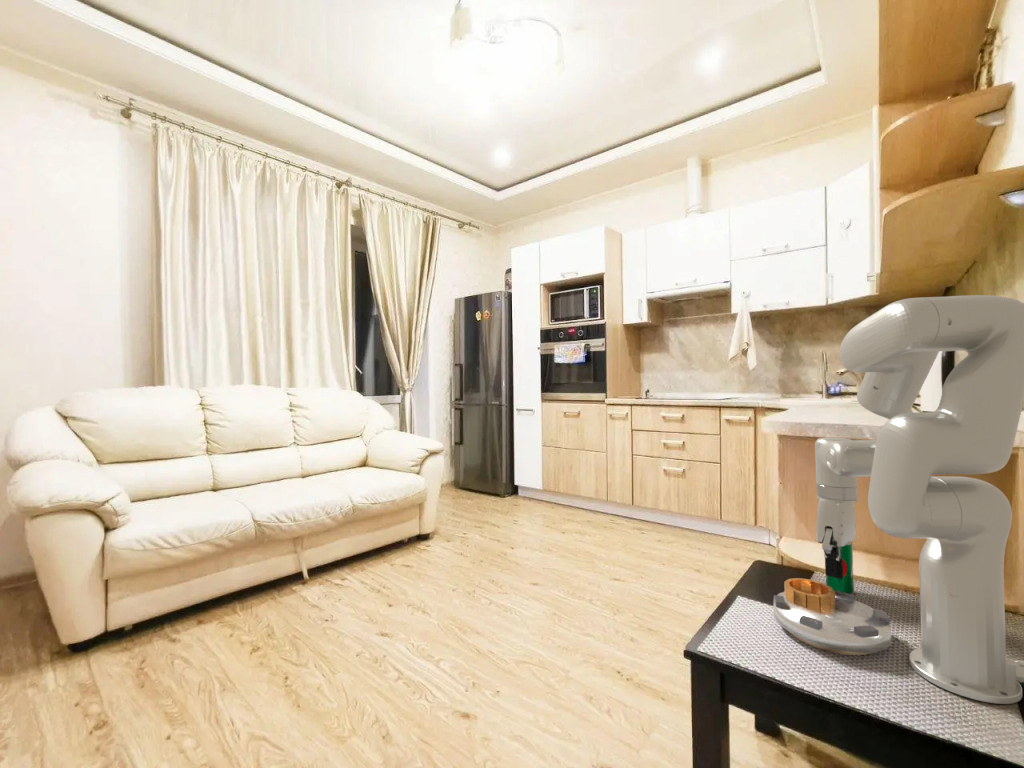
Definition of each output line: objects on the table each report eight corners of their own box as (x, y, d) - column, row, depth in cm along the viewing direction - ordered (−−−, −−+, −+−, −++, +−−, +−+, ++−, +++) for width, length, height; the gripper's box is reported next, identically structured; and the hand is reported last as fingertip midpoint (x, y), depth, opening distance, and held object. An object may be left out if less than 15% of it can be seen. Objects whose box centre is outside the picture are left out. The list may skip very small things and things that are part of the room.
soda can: (859, 596, 99) (857, 540, 99) (833, 595, 99) (831, 540, 100) (845, 586, 104) (844, 533, 104) (821, 585, 104) (820, 533, 105)
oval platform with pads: (872, 611, 90) (871, 585, 90) (908, 662, 73) (907, 631, 73) (768, 596, 97) (768, 572, 97) (780, 639, 81) (779, 611, 81)
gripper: (831, 484, 110) (834, 560, 110) (801, 495, 100) (804, 578, 100) (869, 489, 104) (872, 569, 104) (841, 501, 94) (845, 589, 94)
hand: (839, 572), depth 102 cm, fingers closed on soda can, 5 cm apart
